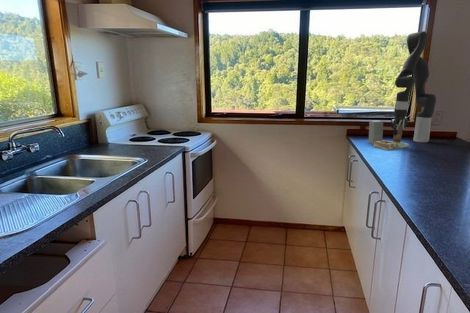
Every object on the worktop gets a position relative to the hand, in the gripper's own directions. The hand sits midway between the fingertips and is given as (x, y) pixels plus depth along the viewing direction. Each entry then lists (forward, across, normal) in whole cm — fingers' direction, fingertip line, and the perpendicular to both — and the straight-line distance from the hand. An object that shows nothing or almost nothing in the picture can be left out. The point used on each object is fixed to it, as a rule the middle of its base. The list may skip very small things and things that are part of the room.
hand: (397, 134), depth 210 cm
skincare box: (+8, +5, -13) cm, 16 cm away
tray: (+8, 0, 0) cm, 8 cm away
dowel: (+5, 0, 0) cm, 5 cm away
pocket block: (+8, +11, 0) cm, 13 cm away
